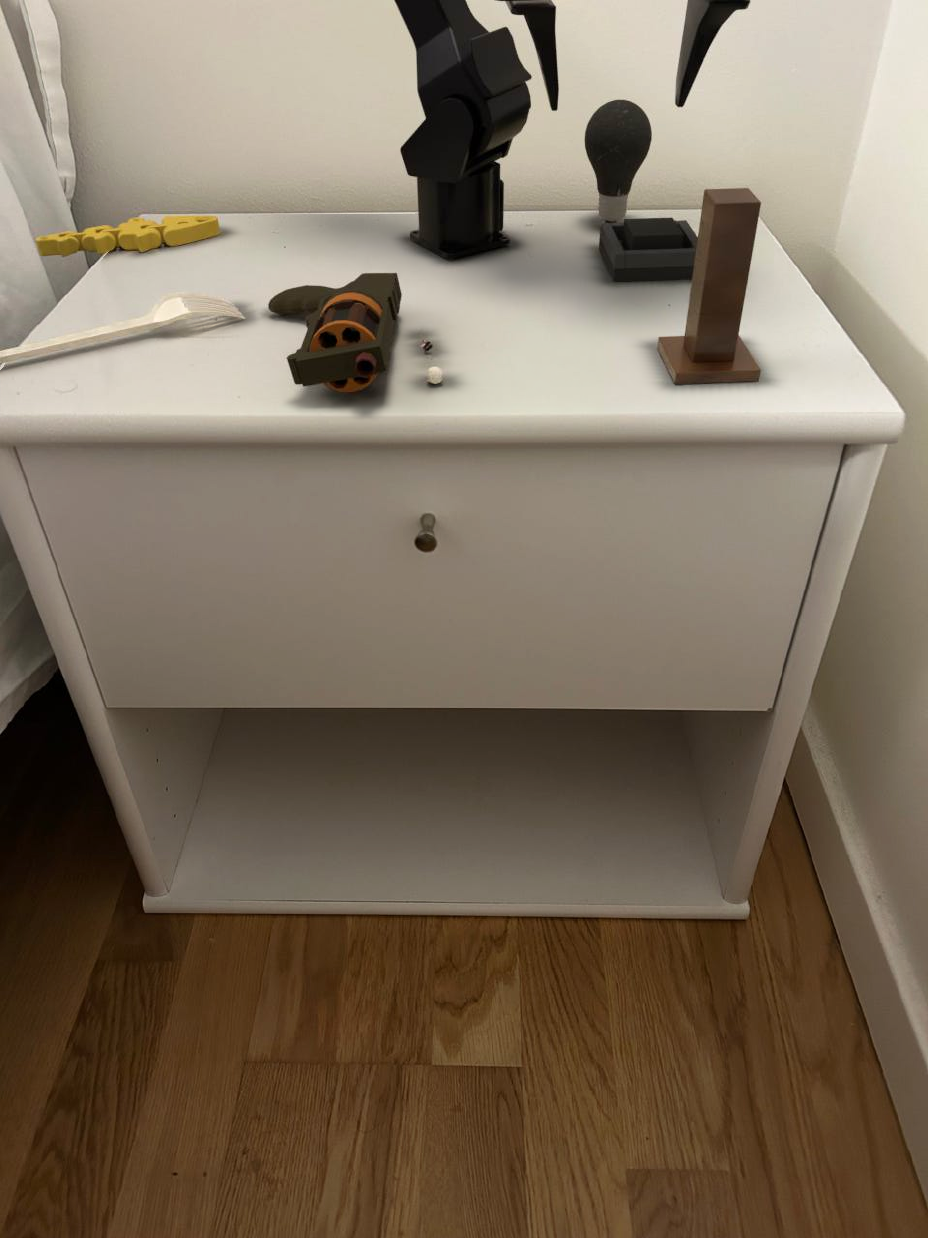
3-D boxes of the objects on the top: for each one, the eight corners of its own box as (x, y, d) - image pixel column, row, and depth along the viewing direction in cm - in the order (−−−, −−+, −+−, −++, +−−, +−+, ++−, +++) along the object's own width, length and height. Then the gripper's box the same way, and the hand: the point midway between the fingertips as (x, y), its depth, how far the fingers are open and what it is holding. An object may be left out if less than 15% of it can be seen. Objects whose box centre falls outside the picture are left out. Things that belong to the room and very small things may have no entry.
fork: (-44, 371, 66) (-34, 395, 68) (244, 298, 73) (247, 321, 75) (-54, 348, 68) (-44, 372, 70) (228, 279, 75) (232, 302, 77)
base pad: (613, 281, 80) (615, 253, 78) (598, 249, 85) (600, 222, 84) (703, 278, 80) (707, 250, 78) (683, 246, 85) (686, 219, 84)
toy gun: (215, 357, 61) (375, 327, 60) (263, 267, 75) (394, 241, 74) (239, 426, 64) (393, 399, 63) (282, 327, 78) (408, 303, 77)
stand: (674, 384, 66) (697, 211, 59) (657, 347, 70) (676, 182, 63) (759, 381, 66) (792, 208, 59) (736, 344, 71) (764, 179, 64)
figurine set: (447, 379, 66) (433, 389, 66) (432, 333, 72) (419, 342, 73) (436, 364, 65) (422, 374, 66) (421, 319, 72) (409, 328, 72)
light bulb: (653, 229, 88) (667, 104, 82) (594, 237, 87) (603, 111, 81) (626, 209, 93) (637, 89, 86) (569, 216, 91) (576, 95, 85)
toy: (41, 242, 88) (39, 263, 84) (36, 226, 87) (34, 246, 83) (217, 224, 91) (223, 243, 87) (215, 209, 90) (220, 227, 86)
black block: (621, 243, 83) (623, 218, 82) (669, 241, 83) (672, 216, 82) (630, 261, 80) (633, 235, 79) (680, 259, 80) (683, 234, 79)
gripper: (500, -154, 57) (498, 142, 67) (825, -160, 58) (775, 133, 68) (486, -163, 66) (485, 100, 76) (769, -168, 66) (731, 93, 76)
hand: (616, 107), depth 74 cm, fingers open, 9 cm apart
